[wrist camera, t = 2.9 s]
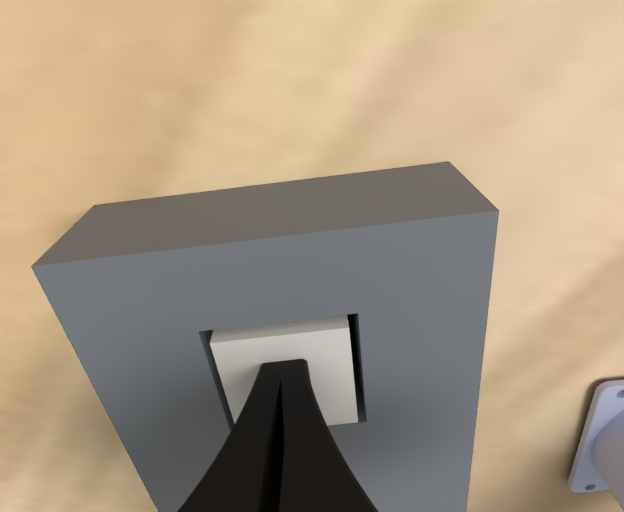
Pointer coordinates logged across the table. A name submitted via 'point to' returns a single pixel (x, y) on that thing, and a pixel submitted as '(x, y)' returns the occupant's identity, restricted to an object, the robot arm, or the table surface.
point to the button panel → (289, 318)
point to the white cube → (288, 346)
